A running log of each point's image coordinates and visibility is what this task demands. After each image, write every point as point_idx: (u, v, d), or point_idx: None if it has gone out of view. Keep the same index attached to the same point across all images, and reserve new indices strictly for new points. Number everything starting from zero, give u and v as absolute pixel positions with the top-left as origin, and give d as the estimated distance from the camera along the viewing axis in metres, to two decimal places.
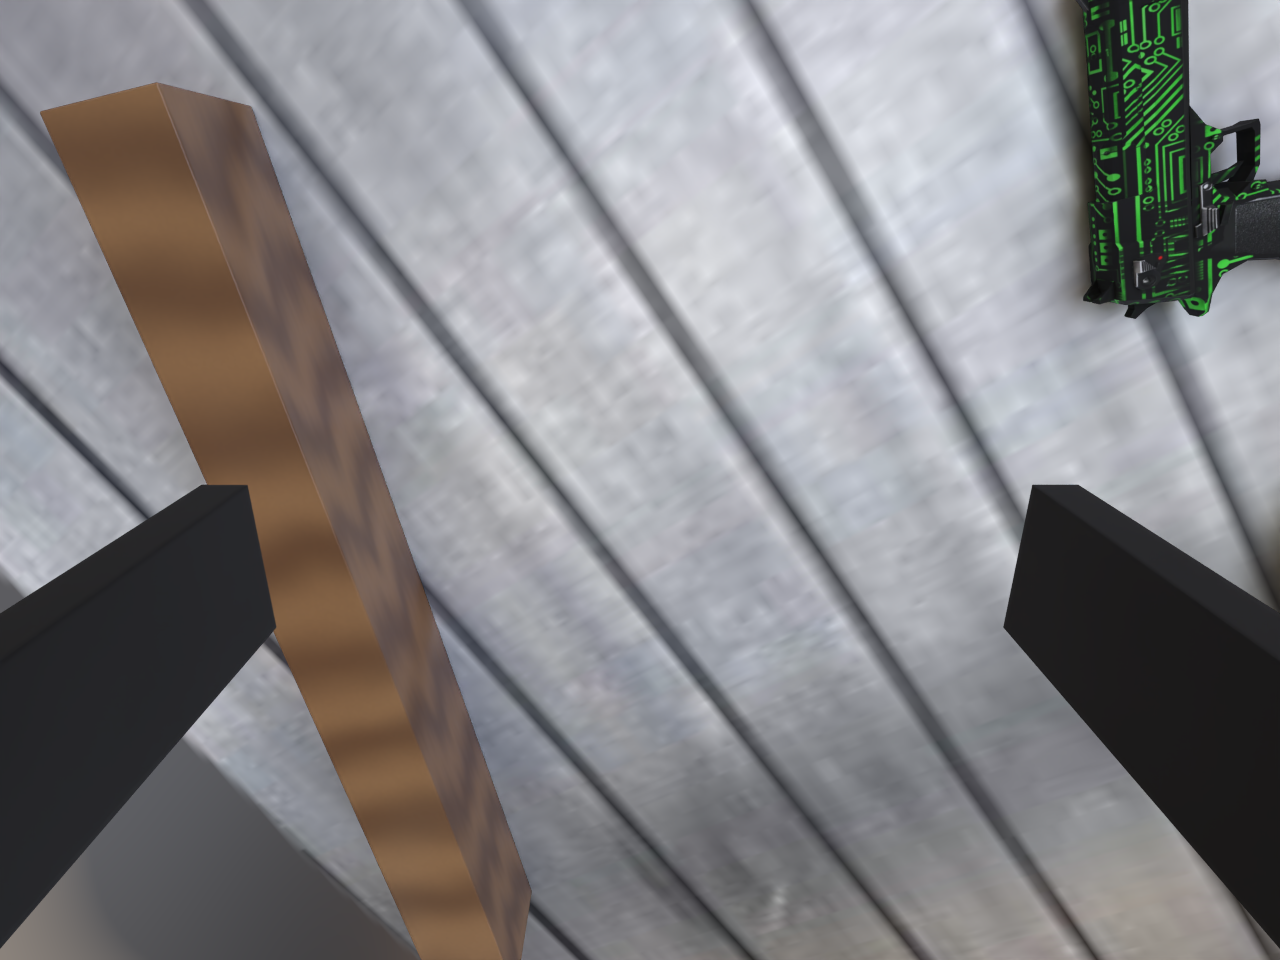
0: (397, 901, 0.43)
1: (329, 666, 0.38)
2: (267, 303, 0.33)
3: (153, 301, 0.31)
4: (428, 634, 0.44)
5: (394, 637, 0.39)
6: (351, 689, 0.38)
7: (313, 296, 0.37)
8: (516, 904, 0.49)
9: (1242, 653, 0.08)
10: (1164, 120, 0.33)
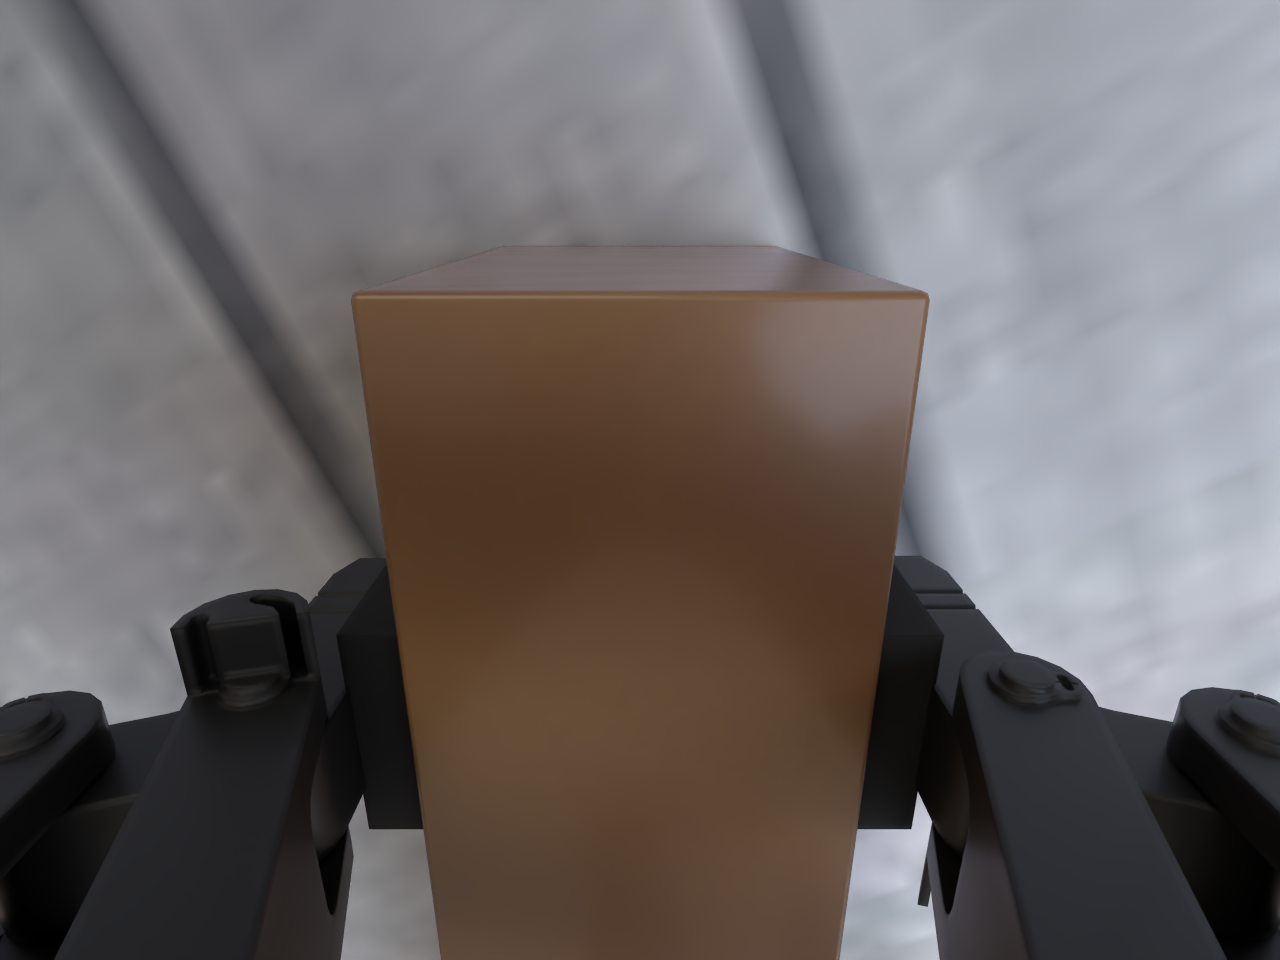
0: None
1: None
2: None
3: (537, 937, 0.09)
4: None
5: None
6: None
7: None
8: None
9: None
10: None
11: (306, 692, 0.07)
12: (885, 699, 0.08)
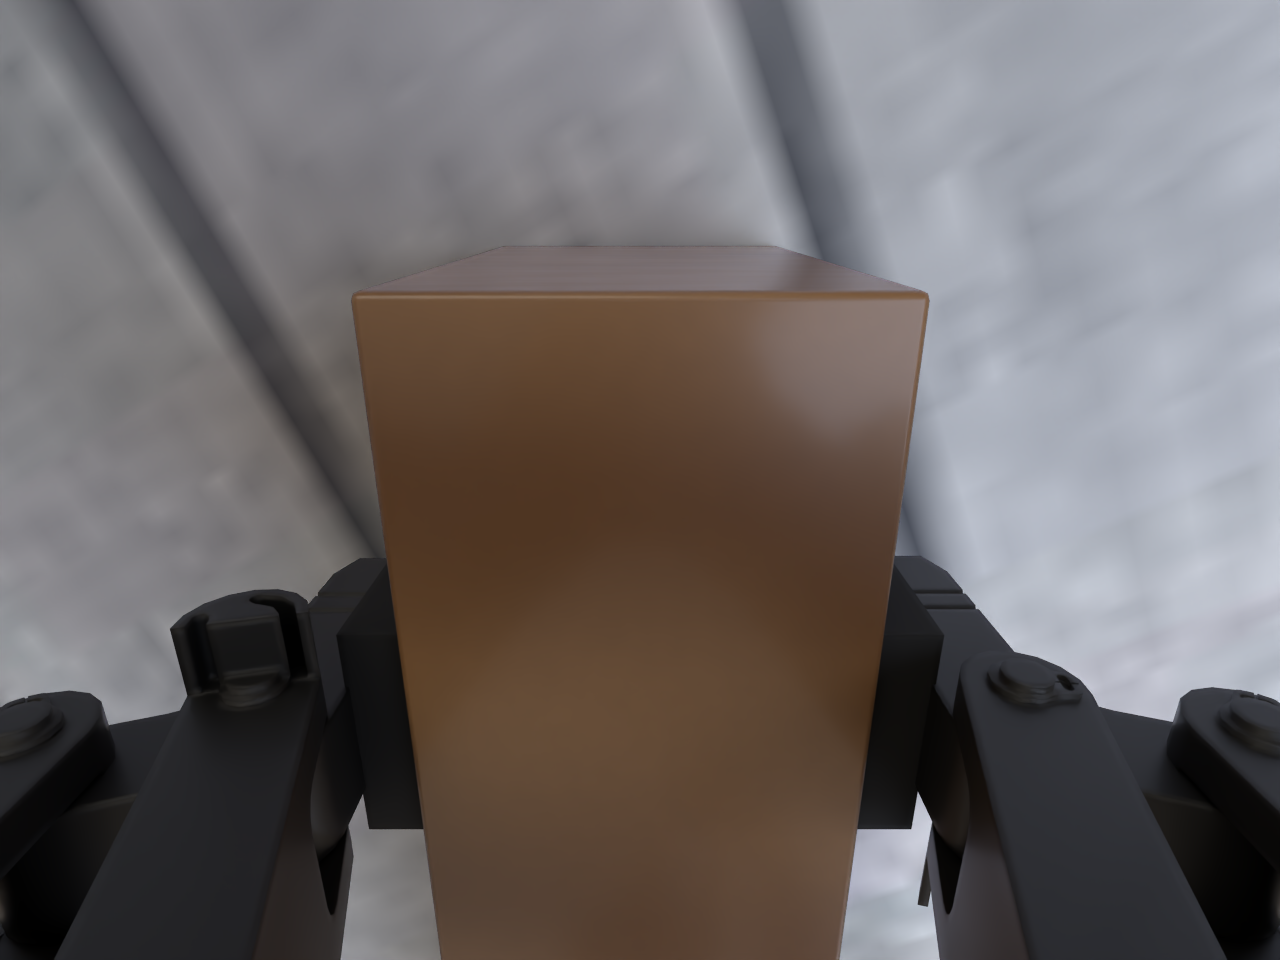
0: None
1: None
2: None
3: (537, 938, 0.09)
4: None
5: None
6: None
7: None
8: None
9: None
10: None
11: (306, 692, 0.07)
12: (885, 699, 0.08)
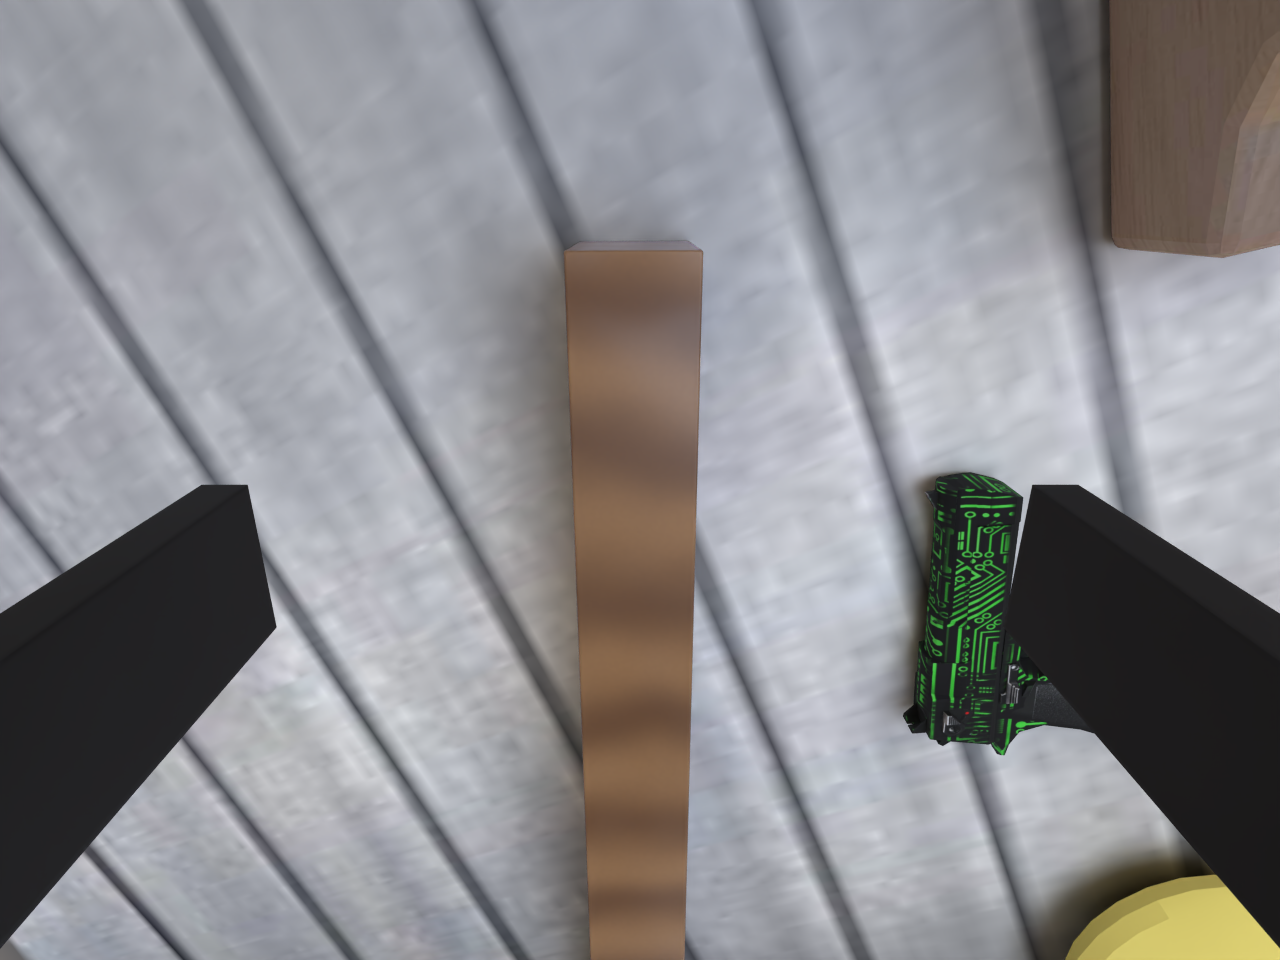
0: None
1: (627, 825, 0.35)
2: None
3: (602, 454, 0.29)
4: None
5: None
6: (641, 850, 0.36)
7: None
8: None
9: (1242, 653, 0.08)
10: (985, 613, 0.37)
11: None
12: None
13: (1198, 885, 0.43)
